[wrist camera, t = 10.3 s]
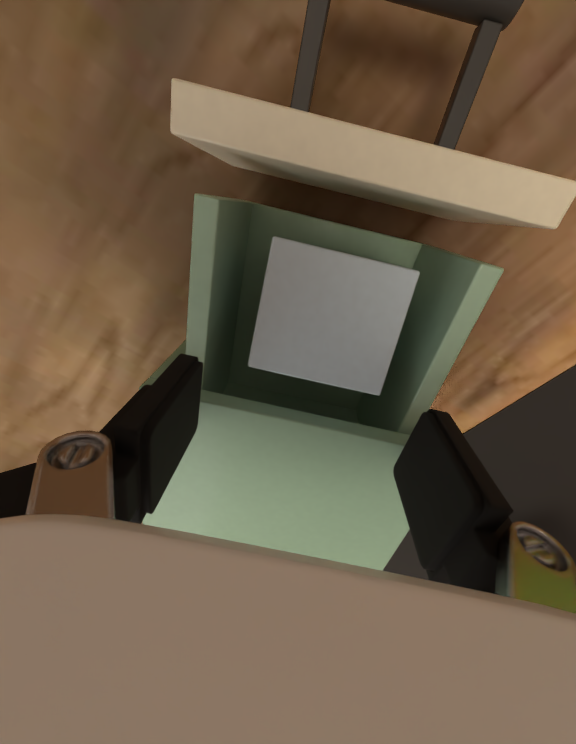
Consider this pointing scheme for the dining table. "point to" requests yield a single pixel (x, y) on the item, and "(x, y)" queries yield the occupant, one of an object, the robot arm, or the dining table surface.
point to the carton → (330, 316)
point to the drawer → (361, 179)
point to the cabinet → (286, 481)
